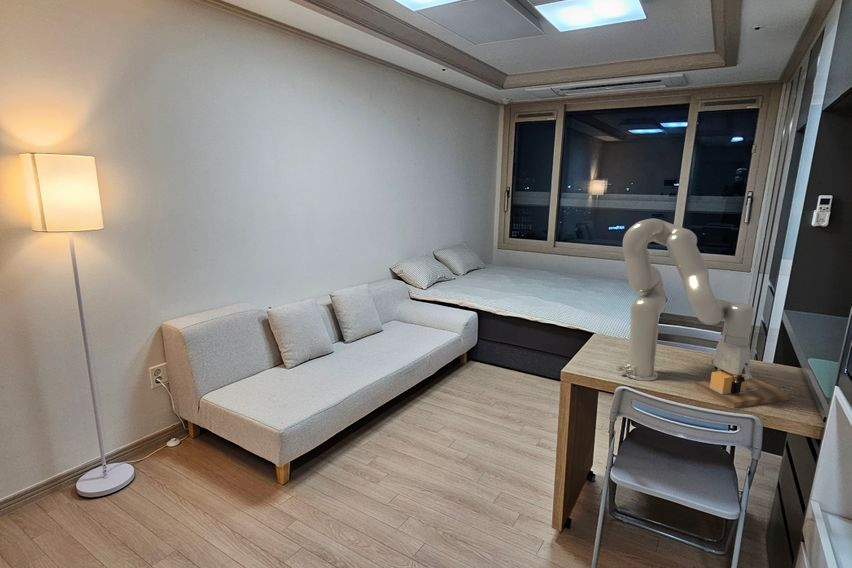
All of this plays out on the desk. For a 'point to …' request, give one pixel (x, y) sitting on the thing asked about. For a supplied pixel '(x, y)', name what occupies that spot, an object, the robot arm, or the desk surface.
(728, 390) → the block
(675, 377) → the desk surface
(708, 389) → the walnut board
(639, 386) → the desk surface
